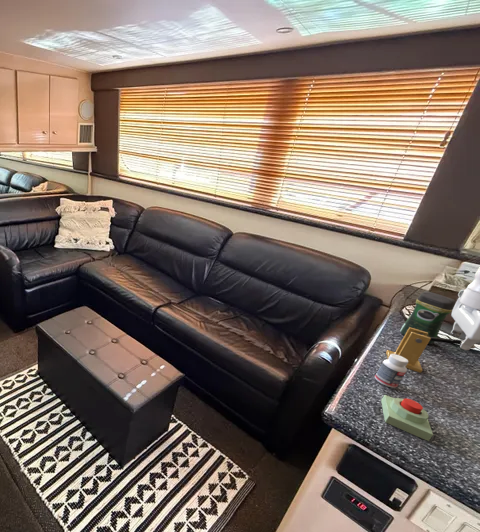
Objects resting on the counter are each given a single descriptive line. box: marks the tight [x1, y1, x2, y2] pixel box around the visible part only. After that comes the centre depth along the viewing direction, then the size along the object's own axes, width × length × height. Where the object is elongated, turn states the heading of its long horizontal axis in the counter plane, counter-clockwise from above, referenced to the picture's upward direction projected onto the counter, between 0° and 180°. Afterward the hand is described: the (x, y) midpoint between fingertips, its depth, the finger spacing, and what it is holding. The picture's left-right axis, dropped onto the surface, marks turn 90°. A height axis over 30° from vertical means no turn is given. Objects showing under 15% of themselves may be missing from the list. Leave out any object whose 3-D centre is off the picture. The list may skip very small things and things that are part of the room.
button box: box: [380, 394, 434, 442], centre depth 81 cm, size 10×8×4 cm
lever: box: [414, 332, 476, 350], centre depth 100 cm, size 13×5×2 cm, turn 52°
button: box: [400, 397, 424, 414], centre depth 80 cm, size 4×4×2 cm
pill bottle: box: [374, 354, 408, 389], centre depth 94 cm, size 5×5×9 cm
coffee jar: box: [399, 290, 457, 345], centre depth 120 cm, size 10×8×19 cm
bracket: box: [385, 327, 431, 374], centre depth 104 cm, size 8×7×12 cm
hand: (458, 341), depth 97 cm, fingers open, 8 cm apart
